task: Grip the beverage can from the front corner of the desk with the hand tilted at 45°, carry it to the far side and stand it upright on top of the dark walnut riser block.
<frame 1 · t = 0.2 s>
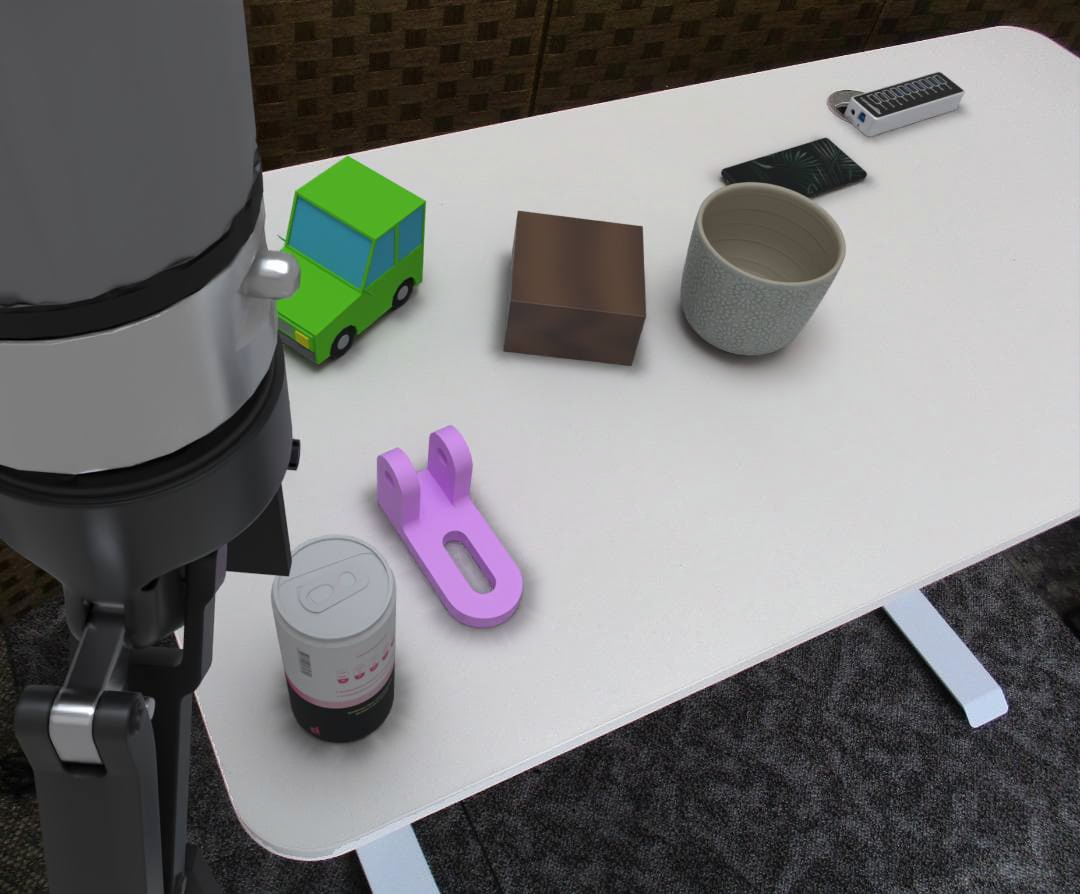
hand: (224, 718, 39), 24 cm above the table, tool pointing down, fingers open, 13 cm apart
bracket: (454, 553, 72), on the table
pill bottle: (237, 458, 74), on the table
toy car: (335, 311, 84), on the table
planter: (733, 325, 89), on the table
riser: (569, 312, 88), on the table
multiport hub: (900, 113, 113), on the table
smartphone: (792, 179, 103), on the table
beverage can: (343, 697, 64), on the table
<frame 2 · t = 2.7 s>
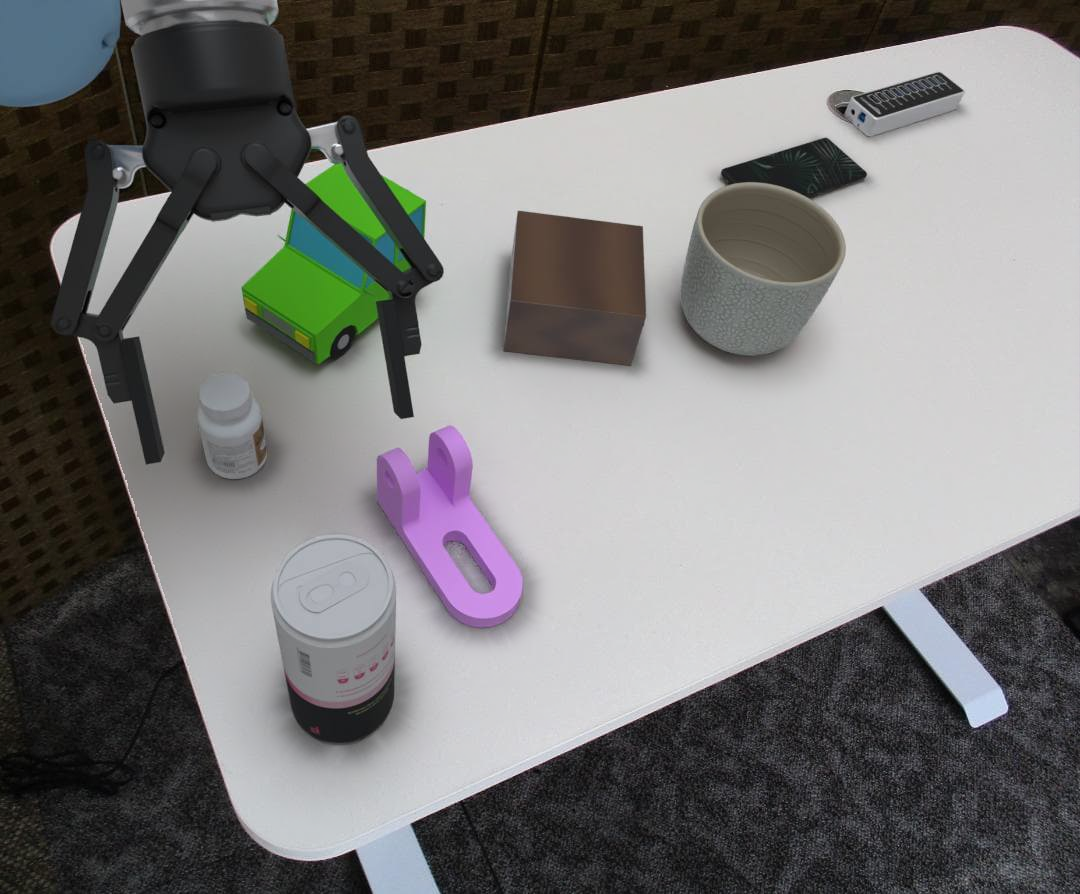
hand: (283, 436, 55), 17 cm above the table, tool tilted 45°, fingers open, 13 cm apart
nothing on the table moved.
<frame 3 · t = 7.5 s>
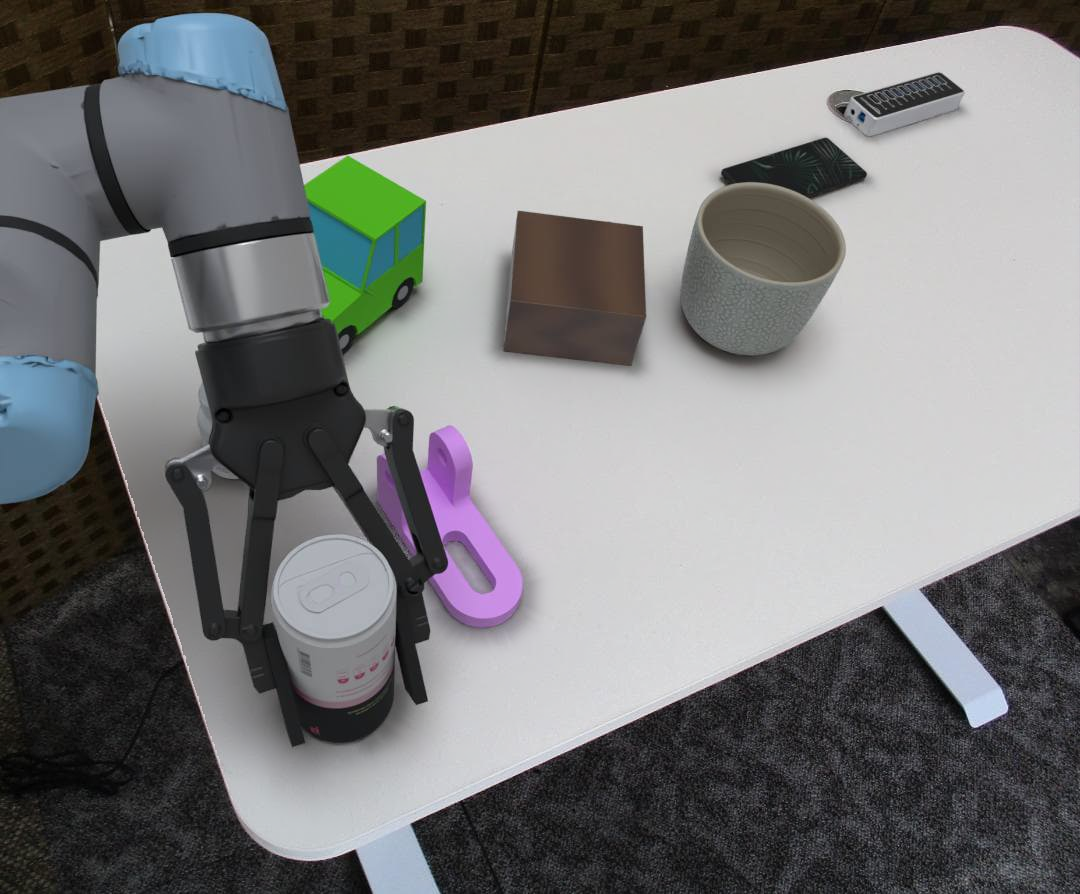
hand: (357, 714, 58), 5 cm above the table, tool tilted 45°, fingers closed on beverage can, 6 cm apart
beverage can: (342, 697, 64), on the table, touching gripper
everything else where it was.
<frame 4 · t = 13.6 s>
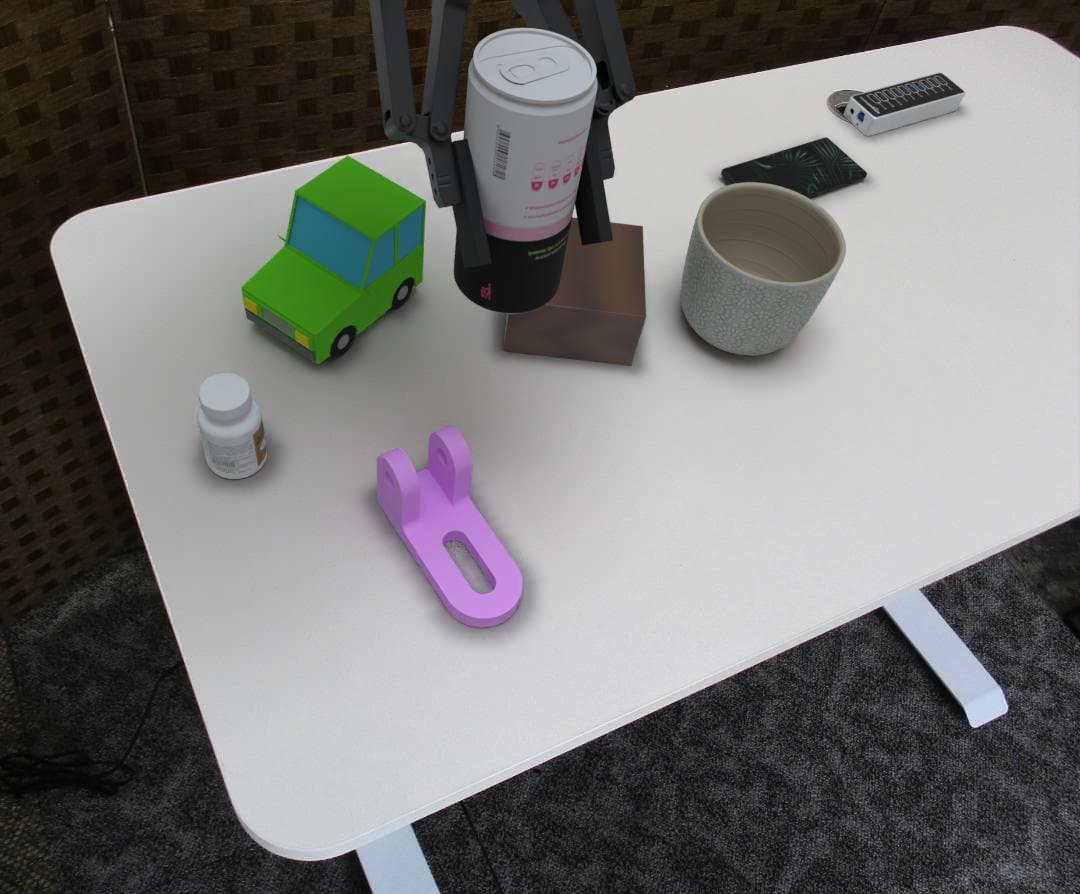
hand: (538, 253, 55), 25 cm above the table, tool tilted 45°, fingers closed on beverage can, 6 cm apart
beverage can: (505, 282, 62), point 19 cm above the table, touching gripper
everything else where it was.
when the fingers open (11 cm above the table, at t = 19.8 s): beverage can stays where it is, resting on riser.
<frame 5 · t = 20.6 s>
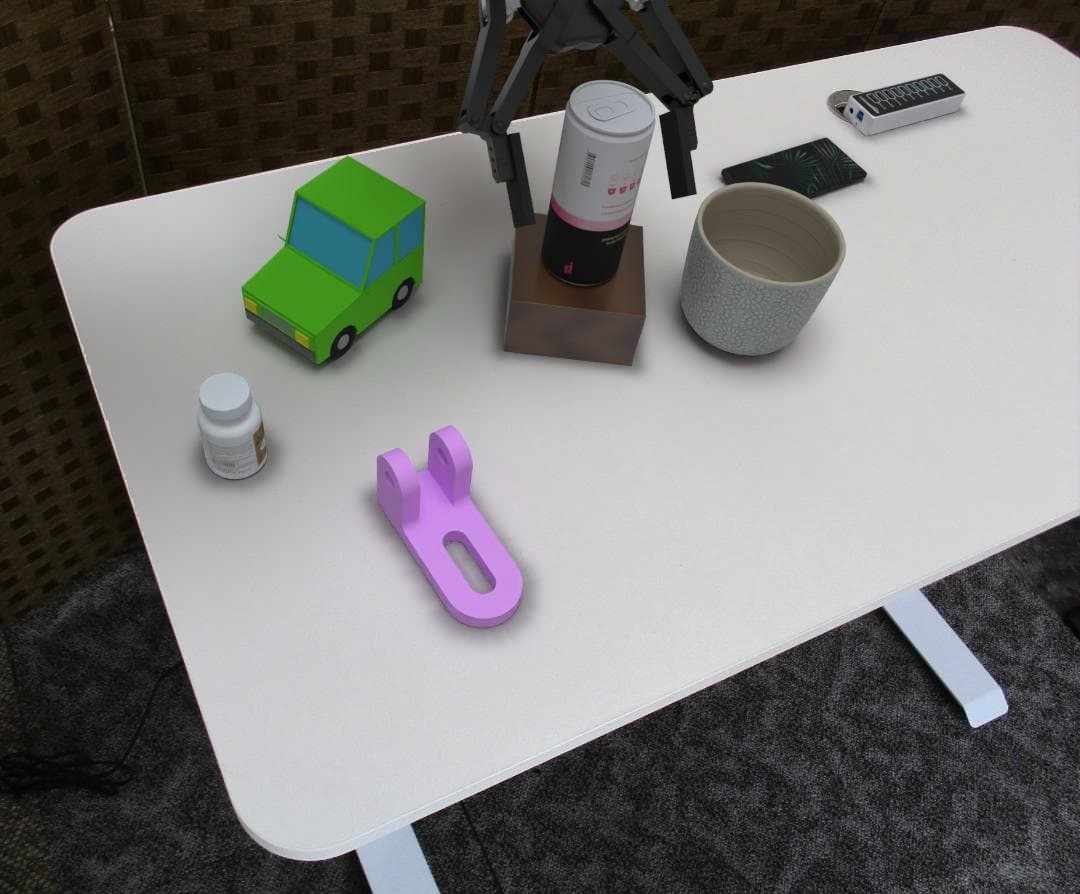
hand: (606, 211, 76), 13 cm above the table, tool tilted 45°, fingers open, 13 cm apart
beverage can: (579, 263, 83), point 6 cm above the table, touching riser
everything else where it was.
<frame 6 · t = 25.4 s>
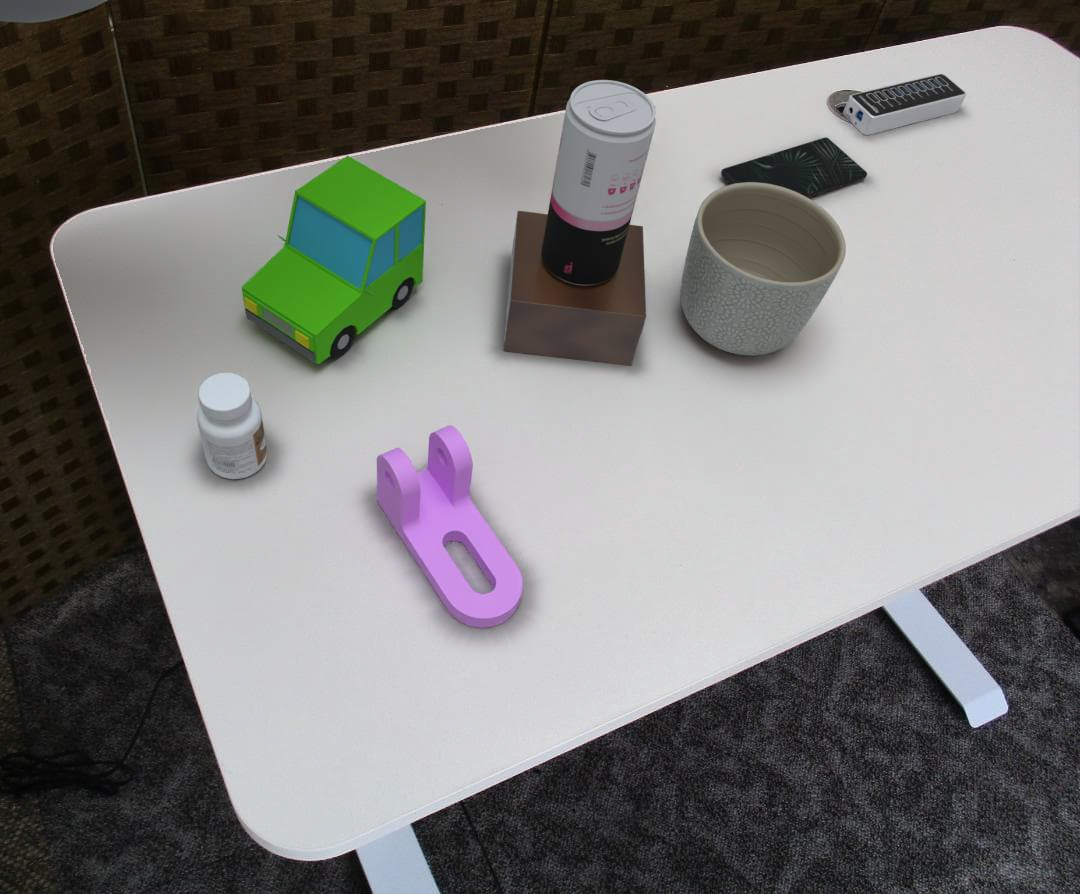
nothing on the table moved.
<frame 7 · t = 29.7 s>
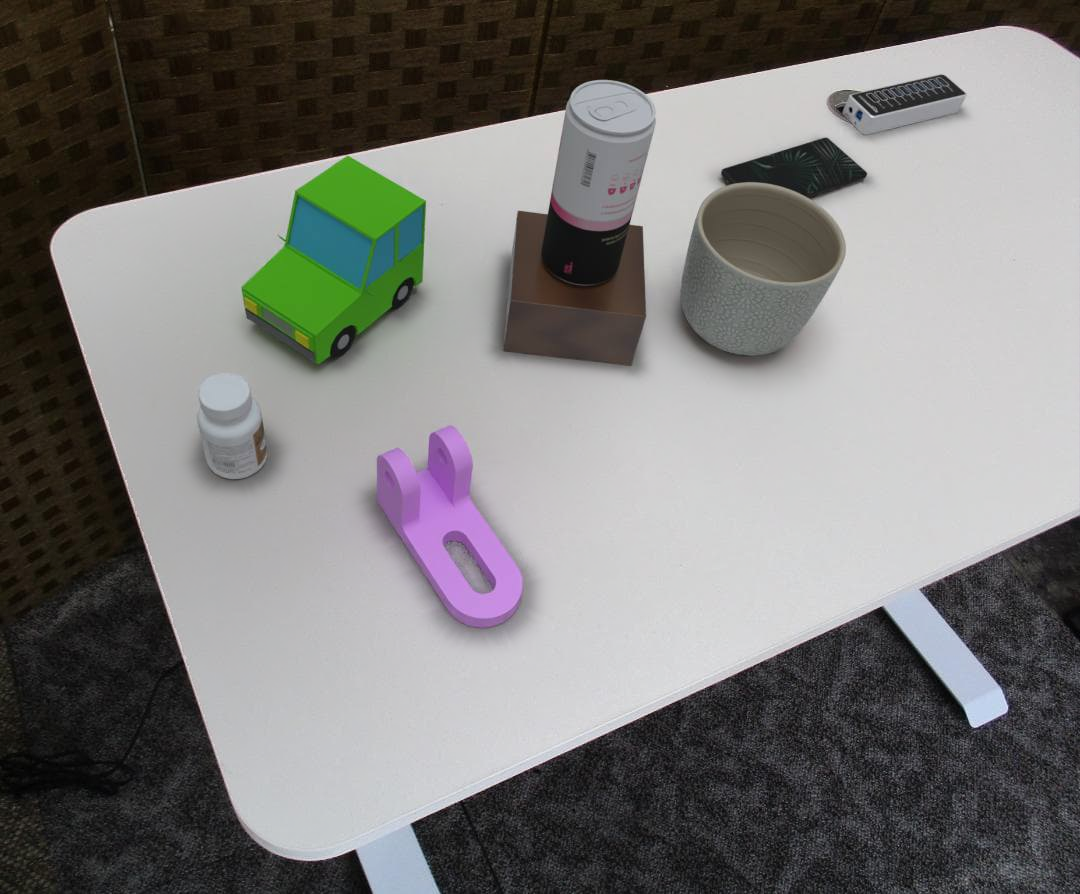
nothing on the table moved.
at the end: beverage can inside the target area on the riser (0.0 cm from its centre), point 5.8 cm above the riser's base; beverage can tilted 0°; the gripper is holding nothing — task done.
